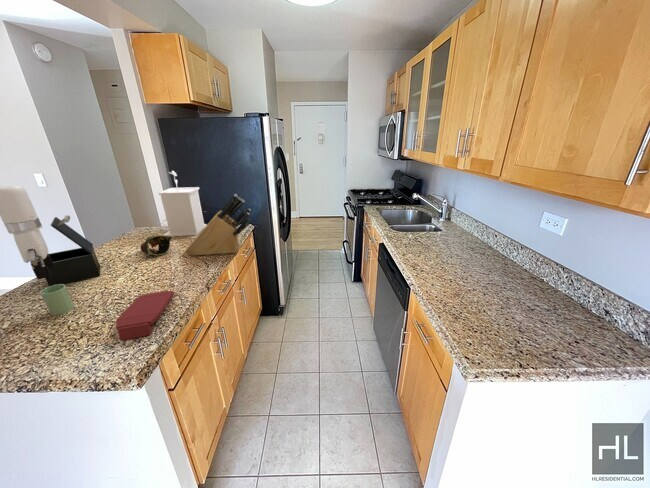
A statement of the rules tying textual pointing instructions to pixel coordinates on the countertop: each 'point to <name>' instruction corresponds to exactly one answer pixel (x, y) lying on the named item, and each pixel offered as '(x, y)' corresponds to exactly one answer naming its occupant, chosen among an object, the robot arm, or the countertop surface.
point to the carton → (142, 314)
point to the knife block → (221, 231)
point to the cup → (57, 299)
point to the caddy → (73, 266)
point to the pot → (156, 240)
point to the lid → (71, 233)
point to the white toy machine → (182, 210)
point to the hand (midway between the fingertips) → (46, 272)
